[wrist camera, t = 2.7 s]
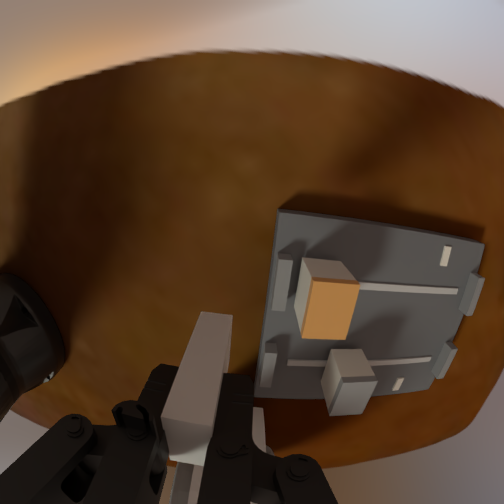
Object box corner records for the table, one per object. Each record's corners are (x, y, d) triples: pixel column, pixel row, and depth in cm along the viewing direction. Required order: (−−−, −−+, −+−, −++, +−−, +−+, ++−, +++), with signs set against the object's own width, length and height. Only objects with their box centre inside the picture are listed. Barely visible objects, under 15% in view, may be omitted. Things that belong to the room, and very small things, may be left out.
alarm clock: (248, 463, 32) (243, 579, 13) (190, 455, 32) (169, 569, 13) (277, 387, 27) (288, 570, 8) (197, 375, 27) (153, 557, 8)
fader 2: (320, 381, 24) (329, 416, 20) (330, 348, 23) (343, 382, 18) (349, 381, 24) (361, 413, 20) (361, 349, 23) (377, 381, 18)
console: (254, 383, 27) (253, 407, 24) (277, 208, 22) (281, 216, 18) (421, 379, 27) (433, 396, 24) (473, 239, 22) (494, 248, 19)
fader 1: (293, 305, 21) (301, 338, 17) (302, 257, 20) (313, 281, 16) (330, 308, 22) (345, 339, 17) (340, 261, 20) (360, 284, 16)
